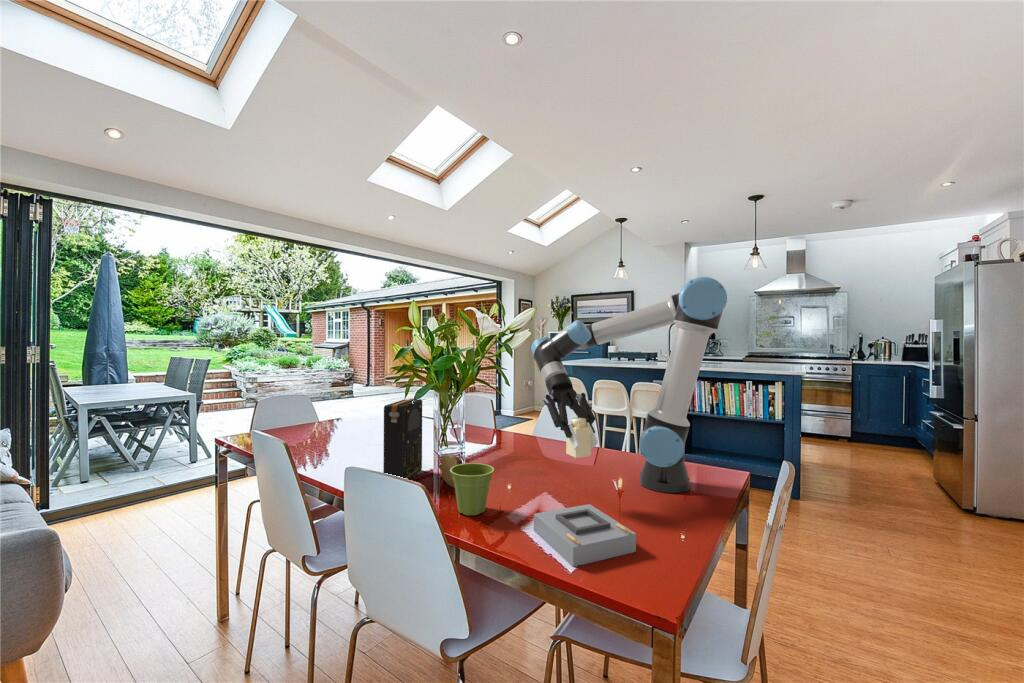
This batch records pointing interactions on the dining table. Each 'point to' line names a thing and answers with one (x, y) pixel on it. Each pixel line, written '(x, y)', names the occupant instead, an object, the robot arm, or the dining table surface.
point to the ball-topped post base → (584, 534)
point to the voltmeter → (403, 438)
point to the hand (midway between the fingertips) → (586, 445)
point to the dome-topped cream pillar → (580, 439)
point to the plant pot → (471, 486)
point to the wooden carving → (449, 467)
